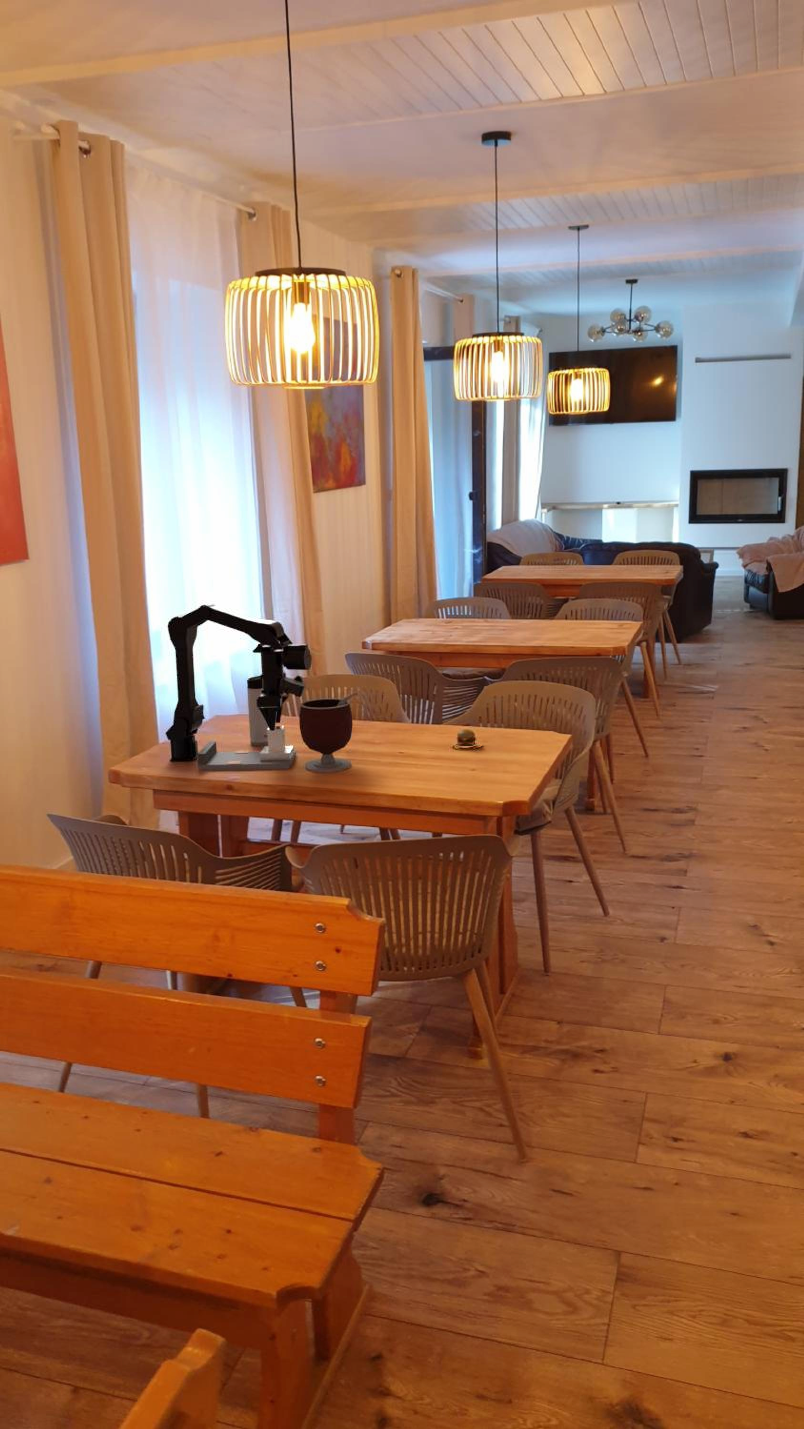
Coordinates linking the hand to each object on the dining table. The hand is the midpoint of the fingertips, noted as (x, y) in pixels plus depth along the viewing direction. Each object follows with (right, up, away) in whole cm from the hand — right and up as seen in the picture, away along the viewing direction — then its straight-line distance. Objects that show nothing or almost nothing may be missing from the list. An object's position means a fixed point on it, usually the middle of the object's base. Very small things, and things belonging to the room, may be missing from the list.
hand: (275, 726), depth 305 cm
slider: (0, -8, +2) cm, 8 cm away
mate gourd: (+15, -11, -4) cm, 19 cm away
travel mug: (-6, -5, +24) cm, 26 cm away
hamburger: (+52, -7, +13) cm, 54 cm away
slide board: (-8, -10, +2) cm, 13 cm away
